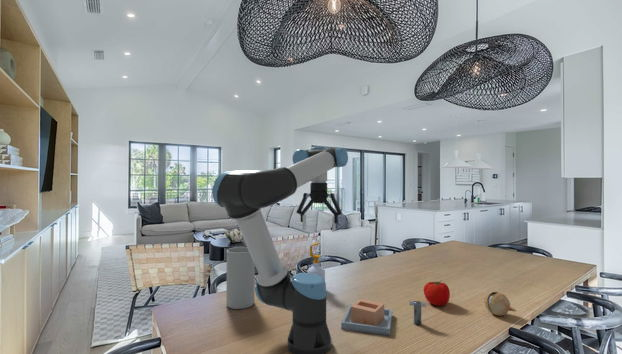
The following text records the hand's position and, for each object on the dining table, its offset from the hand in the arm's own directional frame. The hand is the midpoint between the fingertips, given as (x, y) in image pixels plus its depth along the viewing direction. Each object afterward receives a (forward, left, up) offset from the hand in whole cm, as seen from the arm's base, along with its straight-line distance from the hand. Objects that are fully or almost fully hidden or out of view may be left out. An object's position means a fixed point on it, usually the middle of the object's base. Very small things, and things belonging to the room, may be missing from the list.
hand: (319, 230), depth 138 cm
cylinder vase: (-5, +36, -35) cm, 50 cm away
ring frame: (-6, -22, -34) cm, 41 cm away
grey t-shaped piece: (-2, -41, -35) cm, 54 cm away
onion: (+16, -74, -35) cm, 83 cm away
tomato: (+22, -50, -35) cm, 65 cm away
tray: (-6, -22, -35) cm, 42 cm away
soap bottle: (+23, +8, -35) cm, 43 cm away
